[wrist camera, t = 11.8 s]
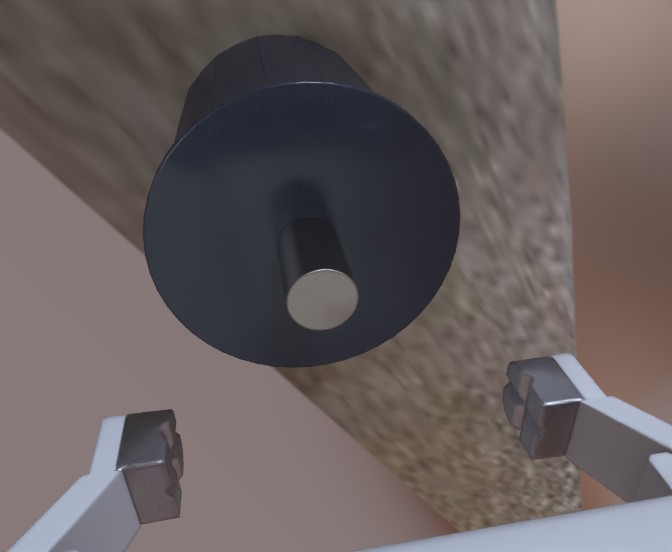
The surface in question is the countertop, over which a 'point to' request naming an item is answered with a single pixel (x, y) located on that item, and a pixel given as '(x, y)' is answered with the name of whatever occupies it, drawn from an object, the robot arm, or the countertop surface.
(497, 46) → the countertop surface
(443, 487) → the countertop surface
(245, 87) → the canister
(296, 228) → the lid
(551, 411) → the robot arm
